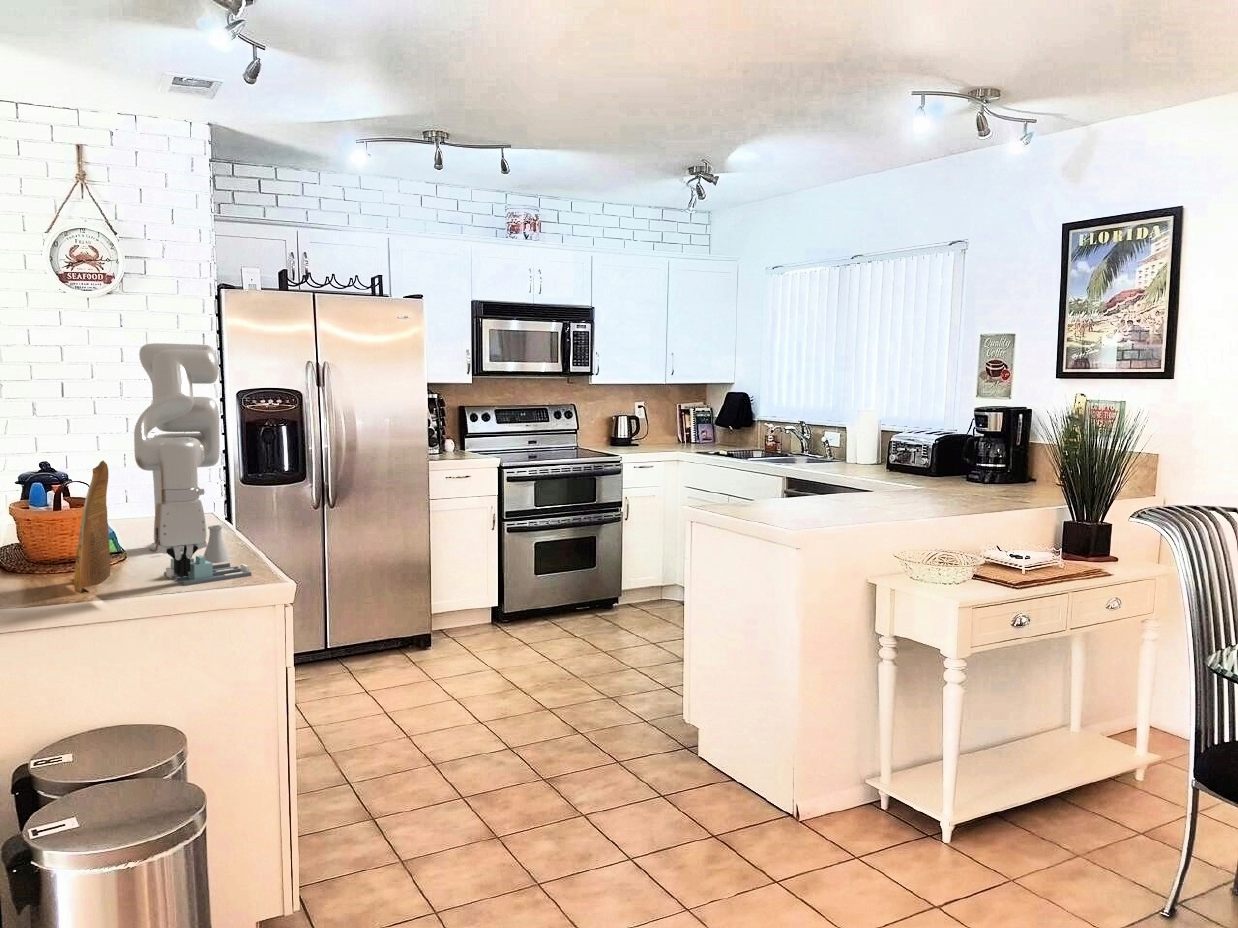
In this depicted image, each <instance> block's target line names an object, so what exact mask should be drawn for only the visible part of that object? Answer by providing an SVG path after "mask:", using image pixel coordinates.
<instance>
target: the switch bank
mask: <svg viewBox="0 0 1238 928" xmlns="http://www.w3.org/2000/svg"><path fill="white" fill-rule="evenodd" d="M163 576H164V577H166V578H168V579H170V580H173V581H174V582H176V583H178V584H181V585H183V586H185V587H188V586H194V585H196V586H197V585H202V584H207V583H213V582H214V583H215V582H221V581H227V580H234V579H240V578H247V577H253V575H252V571H250V566H249V565H247V564H245V563H240V567H239V566H236V565H235V566H231V563H230V562H224V563H219V564H218V563H216V564H213V577H210V578H203V579H196V580H189V576H184V577H179V576H177V575H174V570H173V569H171V567H168V566H167V567H166V568H165V571H163Z"/></svg>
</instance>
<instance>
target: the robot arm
mask: <svg viewBox="0 0 1238 928" xmlns="http://www.w3.org/2000/svg"><path fill="white" fill-rule="evenodd" d="M139 361H140V363H141V366H142V367H143V369H144V371H145V372H146V374H147V376H148V377H149V379H150V382H151V387H152V390H151V391H152V403H151V404H150V405H149V406H148V407H147V408H146V409H145V410H144V411H143V412H142V413H141V414H140V416H139V417H138V419H137V421H136V423H135V425H134V431H133V442H134V445H133V446H134V447H133V448H134V450H133V451H134V460H135V463H136V465H137V466H138V468H139V469H141V470H143V471H150V472H152V477H153V478H152V480H153V497H154V499H153V500H154V501H153V502H154V521H153V522H154V523H153V524H154V525H153V542H152V543H150V544H149V549H150V550H152V551H155V552H156V553H158V554H164V555H165V554H167V555H168V556H170V557H171V559H172V558H174V572H175V573H176V574H177V576H179V577H184V576H189V572H190V558H193V555H195V553H196V552H197V551H198V550H202V549H204V548H207V545H208V542H207V541H206V540H207V536H208V535H207V523H206V517H205V511H204V506H203V503H202V499H201V500H200V496H203V495H205V489H204V488H200V487H199V486H198V485H199V484H198V468H208V467H213V466H215V465H216V464H217V463H218V461H219V458H220V412H219V407H218V404H217V402H216V401H215V400H214V399H213V398H211V397H208V396H207V397H205V396H194V392H193V385H194V384H197V385H198V384H203V385H205V384H211V385H212V384H214V383H215V382H216V381H217V379H218V376H219V362H218V358H217V355H216V352H215V350H214V348H213V347H212V346H211V345H208V344H195V343H194V344H193V343H192V344H191V343H189V344H187V343H165V342H164V343H158V342H156V343H155V342H154V343H147V344H144V345H142V346H141V347H140V349H139ZM155 428H156V429H158V430H159V431H162V432H168V433H161V434H157V435H155V436H153V437H148V434H149V433H150V432H151V431H152V430H153V429H155ZM181 551H183V554H182V557H181V553H180V552H181Z"/></svg>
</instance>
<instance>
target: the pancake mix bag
mask: <svg viewBox="0 0 1238 928" xmlns="http://www.w3.org/2000/svg"><path fill="white" fill-rule="evenodd" d="M108 484H109V467H108V464H107V463H106V461H104V460H101V461H100V462H99V464H98V465H97V466H95V467H94V468H92V476H91V481H90V483H89V487H88V491H87V492H86V495H85V499H84V500H85V501H84V503H83V507H82V508H83V509H82V513H81V514H82V515H81V519H80V527H79V534H78V544H77V550H76V557H75V568H74V575H73V586H74V592H75V591H79V592H78V593H80V594H83V593H84V592H87V593H90V591H89V590H87V589H86V588H88V587H89V588H90V587H93V586H96V585H97V586H98V585H100V584H102V583H103V582H104V581H106V580H107V579H108V578H109V577H110V575H111V556H110V554H111V553H110V550H111V549H110V532H109V530H110V529H109V523H108V506H107V492H108Z"/></svg>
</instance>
